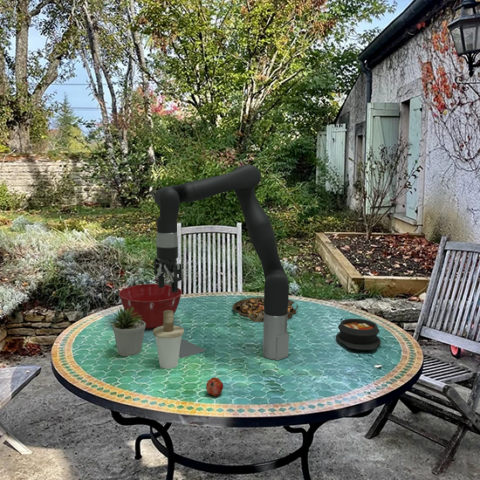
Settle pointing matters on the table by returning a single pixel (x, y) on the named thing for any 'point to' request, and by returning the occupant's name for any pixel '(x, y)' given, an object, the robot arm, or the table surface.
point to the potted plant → (128, 333)
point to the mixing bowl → (150, 302)
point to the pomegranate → (214, 386)
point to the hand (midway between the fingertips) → (167, 289)
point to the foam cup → (168, 351)
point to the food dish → (257, 308)
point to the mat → (188, 349)
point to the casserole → (358, 334)
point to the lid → (168, 327)
